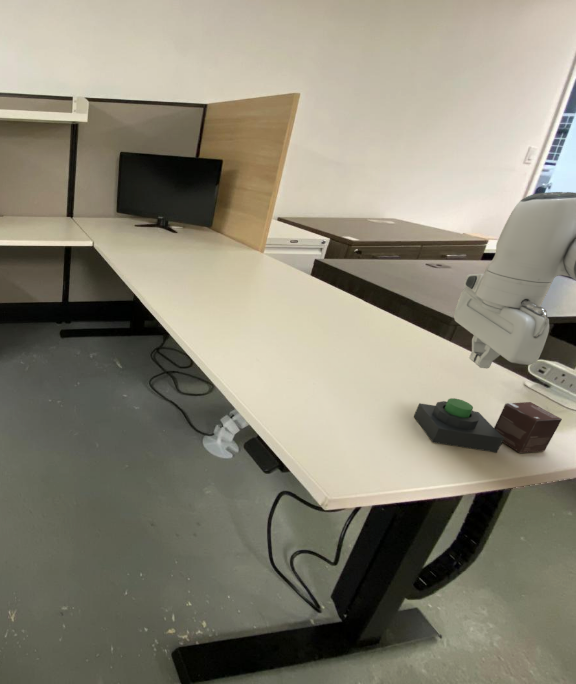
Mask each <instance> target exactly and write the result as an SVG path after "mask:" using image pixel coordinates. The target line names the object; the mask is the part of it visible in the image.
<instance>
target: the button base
mask: <svg viewBox="0 0 576 684" xmlns="http://www.w3.org/2000/svg"><path fill="white" fill-rule="evenodd" d="M446 403H447V401H445V400H443V401H438V402H436V403H435V405H433V404H428V403H421V402H419V403H418V405H417V407H416V410H415V412H414V415H413V417H414V419H415V420H416V421H417V423H418V424H419V426H420V427H421V428H422V430H423V432H425V434H426V435H427V437H428V438H429V440H430V441H431V443H434V444H439V445H448V446H453V447H459V448H466V449H473V450H479V451H484V452H492V453H498V452H499V449H500V447H501V446H502V443H504V442H503V440H504V438H503V437H502V436H501V435H500V434H499V433H498V432H497V431H496V430H495V428H494V427H495V426H493V425H492V424H491V423H490V422H489V421H488V420H487V419H486V418H485V417H484V416H483V415H482V414H481V413H480V411H474V410H472V412H471V414H470V416H469V418H462V417H458V416H455V415H452V414H450V413H448V412H447V411H445V410H444V408H445V406H446Z"/></svg>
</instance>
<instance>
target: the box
mask: <svg viewBox="0 0 576 684" xmlns="http://www.w3.org/2000/svg"><path fill="white" fill-rule="evenodd" d="M561 422H562V418H561V417H559V416H558V415H555V414H554V413H552V412H550V411H548V410H546V409H545V408H543V407H540V406H539V405H537V404H535V403H533V402H531V401H526V402H525V401H524V402H523V401H522V402H508V403H507V402H506V403H505V404H504V406H503V407H502V410H501V412H500V414H499V417H498V419H497V421H496V422H495V425H494V426H493V427H494V428H495V430H496V431H497V432H498V433H499V434H500V435H501V436H502V437H503V438H504V440H503V442H502V443H503V444H505V445H507V446H508V447H510V448H511V449H512V450H514V451H516V452H518V453H519V454H527V453H538V452H545V451H546V450H547V447H548V445H549V444H550V442H551V440H552V439H553V437H554V435H555V432H556V431H557V429H558V427H559V426H560V424H561Z"/></svg>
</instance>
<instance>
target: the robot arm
mask: <svg viewBox="0 0 576 684" xmlns="http://www.w3.org/2000/svg"><path fill="white" fill-rule="evenodd" d="M558 276H565V277H570V278H571V279H573V280H574V281H576V192H573V191H564V192H563V191H547V192H539V193H534V194H530V195H527V196H526V197H524V198H522V199H520V200H519V202H517V203H516V205H515V207H514V208H513V209H512V211H511V212H510V213H509V216H508V218H507V220H506V222H505V223H504V226H503V228H502V230H501V232H500V234H499V236H498V239H497V242H496V245H495V253H494V256H493V258H492V260H491V261H490V262H488V264H487V266H486V268H485V271H484V273H474V274H473V273H472V274H467V275H466V276H465V278H464V281H463V286H464V288H463V289H462V291H461V293H460V294H459V298H458V300H457V303H456V306H455V309H454V312H453V318H454V321H455V322H456V323H457V324H458V325H460V326H461V327H462V328H464V329H465V330H466V331H467V332H469V333H470V334H472V335H473V336H472V338H471V353H470V355H469V360H470V361H471V362H473V363H474V364H475V365H476V366H477V367H478V368H479V369H487V370H488V369H490V367H491V365H492V363H493V361H495V360H496V359H498V358H499V357H500V356H501V357H502V358H503V359H505V360H507V361H508V362H510V363H512V364H519V365H527V366H530V365H533V364H535V363H536V362H537V361H538V360H539V359H540V357H541V355H542V352H543V351H544V347H545V345H546V341H547V339H548V336H549V332H550V319H549V318H548V314H547V313H548V311H547V309H545V307H543V306H542V304H543V303H544V300H545V298H546V297H547V294H548V292H549V290H550V289H551V288H550V287H551V286H552V285H553V282H554V279H555V278H556V277H558Z"/></svg>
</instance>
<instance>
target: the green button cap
mask: <svg viewBox="0 0 576 684" xmlns="http://www.w3.org/2000/svg"><path fill="white" fill-rule="evenodd" d="M446 402H447V403H446V406H445V408H444V410H445V411H447V412H448V413H450V414H452V415H455V416H458V417H462V418H469V416H470V414H471V412H472V410H473V409H474V406H473V405H472V404H471V403H469V402H467V401H466V400H463V399H459V398H454V397H453V398H452V397H451V398H448V399H447V401H446ZM473 411H474V410H473Z"/></svg>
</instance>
